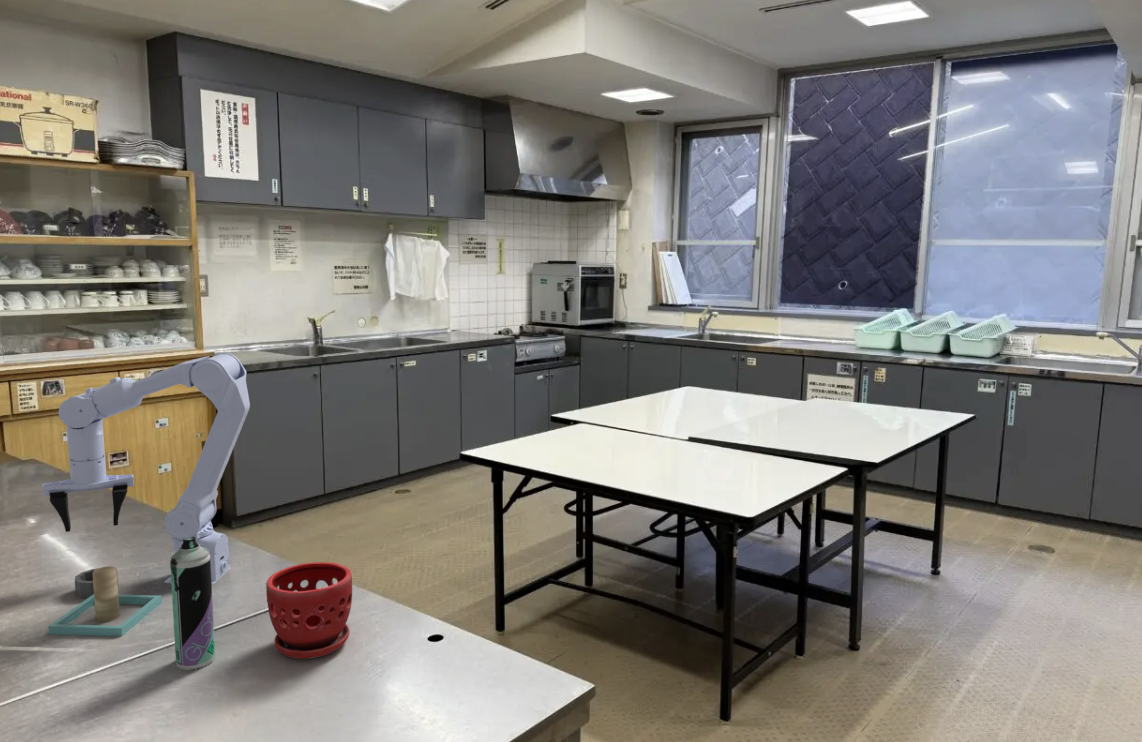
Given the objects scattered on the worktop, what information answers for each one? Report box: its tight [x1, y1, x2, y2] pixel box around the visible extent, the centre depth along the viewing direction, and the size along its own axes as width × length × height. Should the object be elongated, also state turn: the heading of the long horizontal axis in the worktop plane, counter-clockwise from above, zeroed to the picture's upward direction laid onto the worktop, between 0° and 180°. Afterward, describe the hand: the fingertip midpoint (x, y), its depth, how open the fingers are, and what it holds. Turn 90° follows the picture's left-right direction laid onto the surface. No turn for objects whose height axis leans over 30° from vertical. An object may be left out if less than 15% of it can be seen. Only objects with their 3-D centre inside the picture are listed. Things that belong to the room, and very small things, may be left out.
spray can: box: [169, 537, 216, 671], centre depth 118 cm, size 6×6×20 cm
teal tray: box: [47, 593, 163, 637], centre depth 131 cm, size 12×12×2 cm
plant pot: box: [265, 561, 353, 660], centre depth 124 cm, size 13×13×12 cm
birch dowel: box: [93, 566, 121, 623], centre depth 130 cm, size 4×4×8 cm
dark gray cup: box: [74, 567, 119, 600], centre depth 141 cm, size 7×7×4 cm
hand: (92, 526), depth 145 cm, fingers open, 7 cm apart
